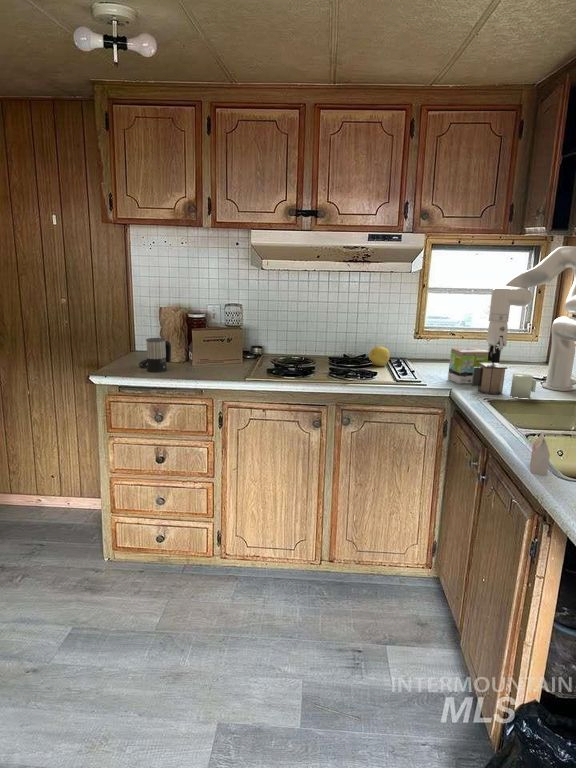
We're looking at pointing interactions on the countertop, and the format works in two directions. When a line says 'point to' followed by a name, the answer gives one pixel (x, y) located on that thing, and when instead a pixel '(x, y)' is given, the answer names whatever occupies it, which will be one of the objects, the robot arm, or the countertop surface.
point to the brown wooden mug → (489, 378)
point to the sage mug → (522, 385)
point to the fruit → (379, 356)
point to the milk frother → (157, 355)
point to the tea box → (465, 363)
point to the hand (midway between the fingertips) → (493, 361)
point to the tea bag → (540, 456)
